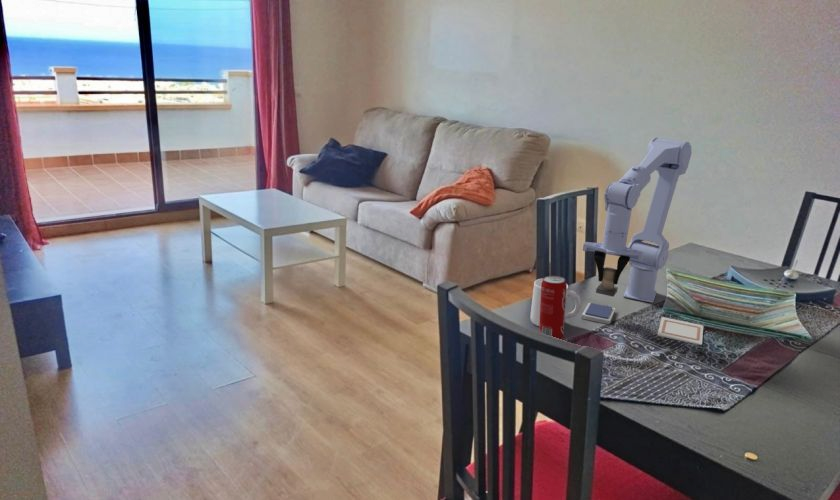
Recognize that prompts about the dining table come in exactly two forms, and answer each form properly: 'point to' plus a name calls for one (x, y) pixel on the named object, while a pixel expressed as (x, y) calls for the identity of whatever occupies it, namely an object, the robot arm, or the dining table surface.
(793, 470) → the dining table surface
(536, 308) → the mug
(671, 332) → the sheet
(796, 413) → the dining table surface
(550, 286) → the beverage can
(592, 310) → the ink pad
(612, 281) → the stamp
